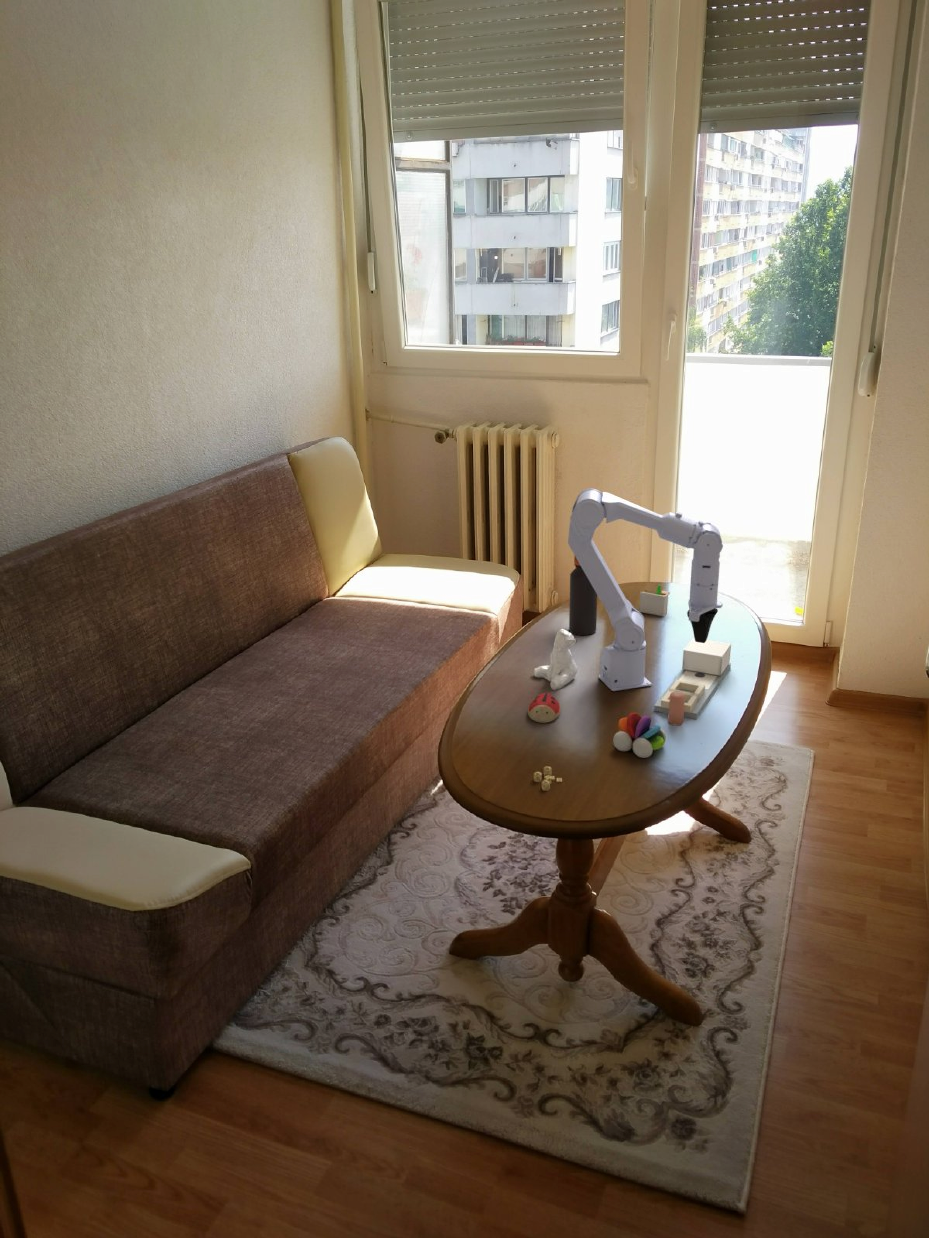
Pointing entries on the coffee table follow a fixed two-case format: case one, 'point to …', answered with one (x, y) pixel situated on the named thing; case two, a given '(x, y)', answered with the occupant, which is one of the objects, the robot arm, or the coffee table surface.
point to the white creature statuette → (559, 662)
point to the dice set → (545, 778)
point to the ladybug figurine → (544, 708)
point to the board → (692, 691)
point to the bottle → (582, 603)
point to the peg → (676, 708)
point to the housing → (706, 656)
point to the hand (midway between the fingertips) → (700, 641)
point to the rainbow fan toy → (639, 735)
